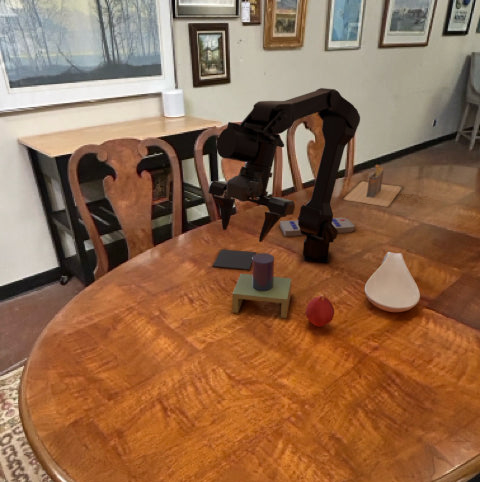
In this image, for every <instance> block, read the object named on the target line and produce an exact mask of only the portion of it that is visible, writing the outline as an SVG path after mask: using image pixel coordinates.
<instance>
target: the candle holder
mask: <svg viewBox="0 0 480 482" xmlns="http://www.w3.org/2000/svg"><path fill="white" fill-rule="evenodd" d="M251 275H252V287H253V288H254V289H255V290H258V291H268V290H271V289H272V288H273V286H274V277H275V256H273V254H271V253H268V252H267V253H266V252H261V253H260V252H259V253H256V254H255V255H254V256H253V257H252V264H251Z"/></svg>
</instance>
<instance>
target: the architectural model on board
mask: <svg viewBox="0 0 480 482" xmlns="http://www.w3.org/2000/svg"><path fill="white" fill-rule="evenodd" d="M374 166H375V171H374V172H373V173H372V174H371V175H370V176H369V177H368V181H360V182H359V183H358V184H357V185H356V186H355V187H354V188H353V189H352V190H351V191H350V192H349V193H348V194H347V195H345V196H344V198H343V200H345V201H350V202H355V203H362V204H368V205H374V206H380V207H387V208H388V207H389V206H390V205H391V203H392V202H393V200H394V199H395V197H396V196H397V195H398V194H399V192H400V191H401V190H402V189H403V187H402V186H398V185H391V184H384V183H383V178H384V173H385V172H384V170H385V169H384V167H382V166H380V165H379V164H377V163H376V165H374Z"/></svg>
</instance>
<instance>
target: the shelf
mask: <svg viewBox="0 0 480 482" xmlns="http://www.w3.org/2000/svg"><path fill="white" fill-rule="evenodd" d="M231 294H232V313H235V314H236V313H237V314H239V311H240V309H241V306H242V303H243V301H244V300H247V301H248V300H249V301H258V302H268V303H276V304H281V307H280V308H281V309H280V319H281V318H282V319H287V316H288V312H289V307H290V301H291V295H292V277H283V276H282V277H281V276H274V286H273V288H272V289H271V290H268V291H258V290H255V289H254V288H253V287H252V273H251V274H250V273H240V274H239V277H238V278H237V281H236V284H235V286H234V288H233V291H232V293H231Z"/></svg>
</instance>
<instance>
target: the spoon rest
mask: <svg viewBox="0 0 480 482" xmlns="http://www.w3.org/2000/svg"><path fill="white" fill-rule="evenodd" d="M364 293H365V297H366V298H367V300H368V301H369V302H370V303H371V304H372V305H373V306H375V307H376V308H378V309H379V310H382V311H384V312H391V313H402V312H406V311H409V310H410V309H413V308H415V306H416V305H418V303H419V301H420V299H421V294H420V289H419V287H418V285H417V283H416V281H415V279H414V278H413V275H412V273H411V272H410V270H409V269H408V266H407V264H406V262H405V259H404V256H403V253H402V252H401V253H400V252H397V253H395V252H391V251H388V252H386V254H385V256H384V258H383V259H382V262H381V265H380V266H379V267H378V268H377V269H376V270H375V271H374V272H373V273H372V275H371V276H369V278H368V279H367V281H366V283H365V285H364Z"/></svg>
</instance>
